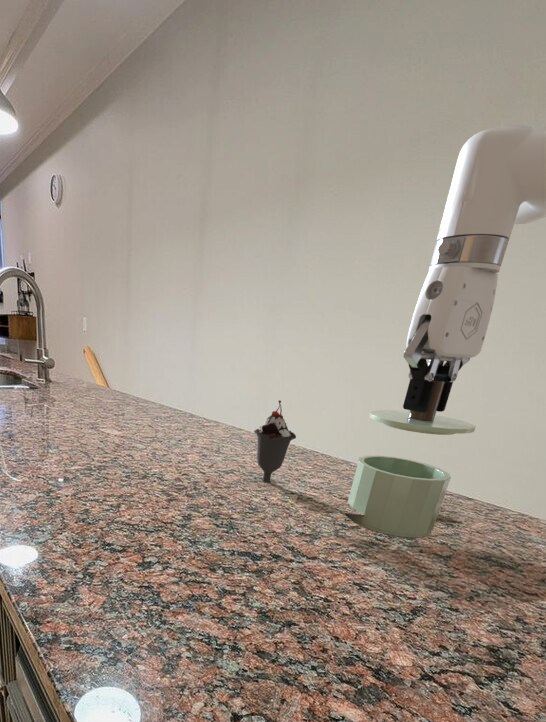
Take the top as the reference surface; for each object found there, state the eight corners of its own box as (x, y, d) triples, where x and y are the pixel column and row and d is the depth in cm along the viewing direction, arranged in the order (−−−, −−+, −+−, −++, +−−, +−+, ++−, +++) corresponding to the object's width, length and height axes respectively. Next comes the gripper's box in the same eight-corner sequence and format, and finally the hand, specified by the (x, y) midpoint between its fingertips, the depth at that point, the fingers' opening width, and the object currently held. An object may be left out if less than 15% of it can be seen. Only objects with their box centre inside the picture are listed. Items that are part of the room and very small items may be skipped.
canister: (386, 503, 75) (401, 455, 72) (450, 534, 65) (470, 479, 61) (328, 507, 71) (341, 455, 68) (386, 540, 61) (404, 481, 57)
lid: (415, 418, 70) (426, 376, 68) (495, 437, 59) (513, 387, 56) (348, 418, 66) (358, 373, 63) (422, 439, 55) (437, 385, 52)
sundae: (269, 483, 80) (285, 398, 74) (292, 497, 74) (310, 406, 68) (237, 485, 78) (251, 397, 72) (258, 499, 72) (275, 405, 66)
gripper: (460, 245, 48) (412, 417, 55) (533, 265, 55) (483, 413, 62) (396, 252, 54) (360, 406, 61) (470, 269, 61) (431, 404, 68)
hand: (423, 408), depth 61 cm, fingers closed on lid, 3 cm apart
